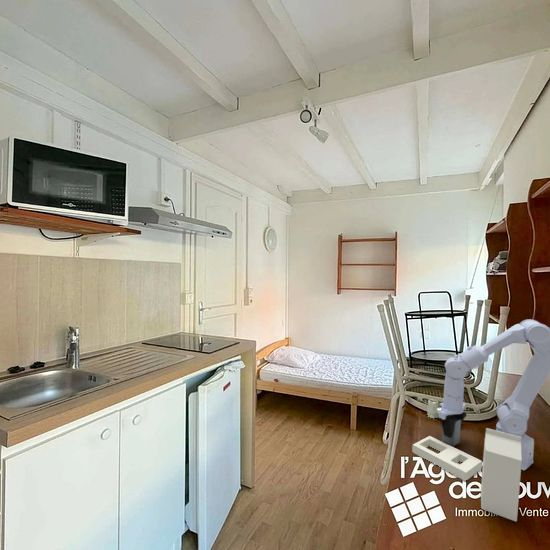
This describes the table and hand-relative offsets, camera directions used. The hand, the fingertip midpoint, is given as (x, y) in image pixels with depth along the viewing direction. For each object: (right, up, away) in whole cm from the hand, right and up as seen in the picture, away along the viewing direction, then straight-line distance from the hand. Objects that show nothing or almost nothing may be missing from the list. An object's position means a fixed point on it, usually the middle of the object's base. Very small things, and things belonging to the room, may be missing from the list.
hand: (451, 434), depth 109 cm
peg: (0, -3, 0) cm, 2 cm away
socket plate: (-7, -3, -9) cm, 12 cm away
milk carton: (-4, -5, -28) cm, 28 cm away
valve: (+6, -3, +16) cm, 17 cm away
